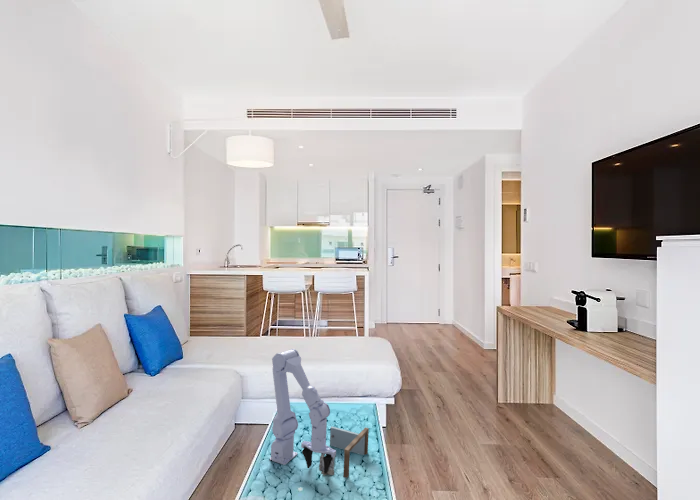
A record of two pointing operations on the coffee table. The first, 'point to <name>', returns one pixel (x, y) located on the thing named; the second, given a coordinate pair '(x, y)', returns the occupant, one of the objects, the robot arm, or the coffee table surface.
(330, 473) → the driftwood
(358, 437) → the door frame
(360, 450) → the door
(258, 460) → the coffee table surface
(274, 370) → the robot arm
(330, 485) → the coffee table surface
